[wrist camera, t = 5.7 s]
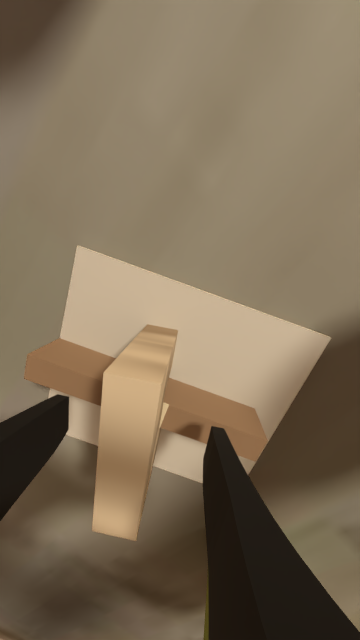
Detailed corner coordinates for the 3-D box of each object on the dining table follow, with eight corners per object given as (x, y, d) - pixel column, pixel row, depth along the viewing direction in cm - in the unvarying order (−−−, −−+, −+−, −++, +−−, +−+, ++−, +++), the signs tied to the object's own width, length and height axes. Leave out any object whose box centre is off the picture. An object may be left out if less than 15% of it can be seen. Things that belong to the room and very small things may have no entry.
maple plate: (147, 324, 12) (103, 372, 7) (178, 330, 12) (161, 384, 7) (134, 426, 14) (92, 530, 9) (160, 431, 14) (135, 541, 9)
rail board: (327, 335, 12) (369, 357, 9) (234, 489, 16) (243, 540, 13) (81, 246, 12) (43, 238, 9) (46, 422, 16) (11, 458, 13)
